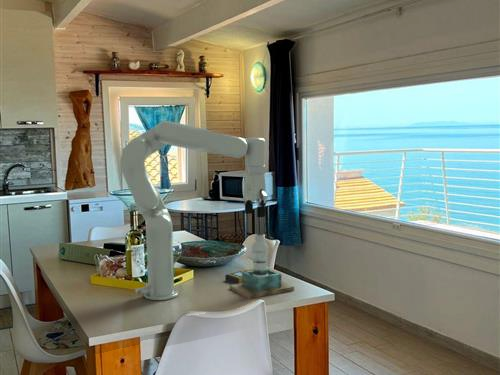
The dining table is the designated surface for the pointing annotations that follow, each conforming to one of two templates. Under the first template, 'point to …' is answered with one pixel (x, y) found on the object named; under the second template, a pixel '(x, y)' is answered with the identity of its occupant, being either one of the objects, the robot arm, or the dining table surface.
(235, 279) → the electronic device
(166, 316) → the dining table surface
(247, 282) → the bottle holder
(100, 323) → the dining table surface
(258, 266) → the plastic bottle
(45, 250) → the dining table surface
